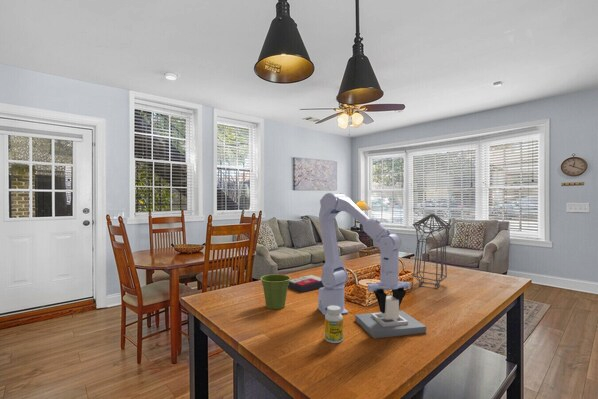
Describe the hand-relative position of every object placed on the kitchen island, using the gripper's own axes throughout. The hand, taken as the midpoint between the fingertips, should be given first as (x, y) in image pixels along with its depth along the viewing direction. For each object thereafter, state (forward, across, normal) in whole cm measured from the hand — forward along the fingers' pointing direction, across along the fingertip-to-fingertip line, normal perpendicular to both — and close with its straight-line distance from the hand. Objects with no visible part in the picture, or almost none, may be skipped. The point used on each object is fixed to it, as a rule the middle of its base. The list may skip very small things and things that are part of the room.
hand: (389, 311), depth 101 cm
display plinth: (+5, 0, 0) cm, 5 cm away
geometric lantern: (+5, +44, +38) cm, 58 cm away
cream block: (+2, 0, 0) cm, 2 cm away
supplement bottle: (+5, -21, -5) cm, 22 cm away
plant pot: (+5, -34, +26) cm, 43 cm away
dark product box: (+6, -16, +49) cm, 51 cm away
